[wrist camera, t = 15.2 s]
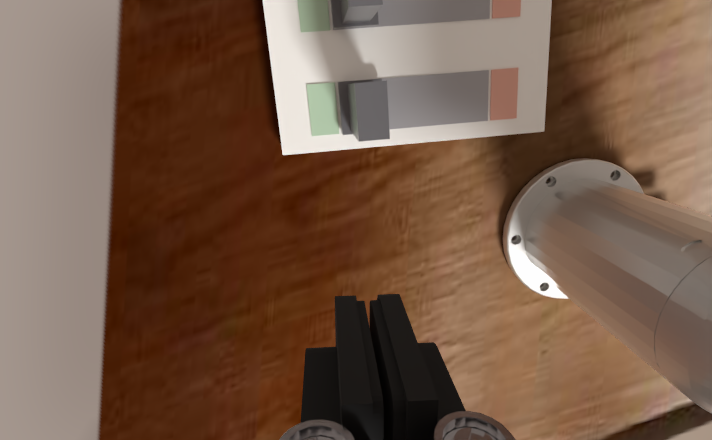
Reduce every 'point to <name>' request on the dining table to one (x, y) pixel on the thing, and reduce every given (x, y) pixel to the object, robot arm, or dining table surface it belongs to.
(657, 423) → the dining table surface
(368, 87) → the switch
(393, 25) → the switch board
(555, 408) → the dining table surface
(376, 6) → the middle switch
